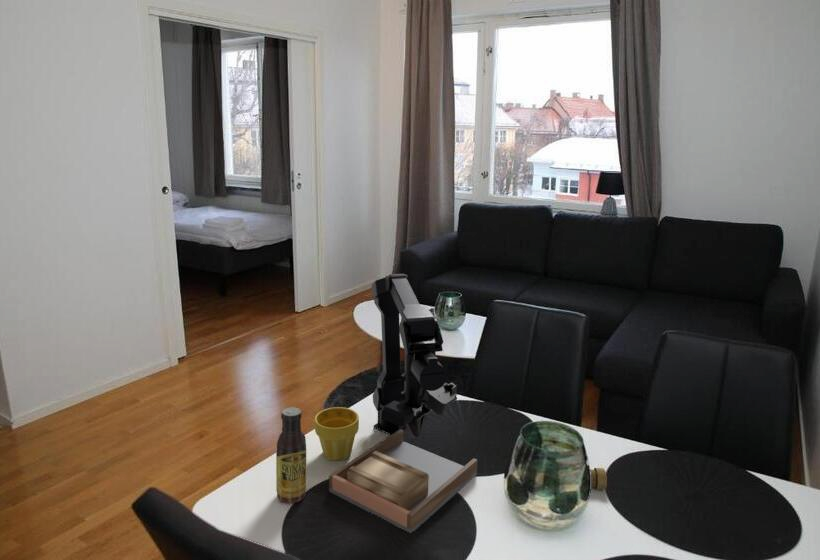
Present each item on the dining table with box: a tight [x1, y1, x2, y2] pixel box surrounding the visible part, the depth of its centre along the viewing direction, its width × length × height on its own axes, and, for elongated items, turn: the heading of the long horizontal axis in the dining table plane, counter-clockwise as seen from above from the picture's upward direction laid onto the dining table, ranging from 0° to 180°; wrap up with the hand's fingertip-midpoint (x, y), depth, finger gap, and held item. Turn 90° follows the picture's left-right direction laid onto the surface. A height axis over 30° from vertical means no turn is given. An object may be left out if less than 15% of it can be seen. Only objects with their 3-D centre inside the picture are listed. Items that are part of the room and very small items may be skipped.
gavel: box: [589, 467, 608, 491], centre depth 139 cm, size 21×5×10 cm
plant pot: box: [313, 406, 360, 462], centre depth 141 cm, size 10×10×10 cm
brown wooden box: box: [347, 451, 429, 510], centre depth 125 cm, size 14×10×5 cm
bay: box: [328, 429, 478, 534], centre depth 131 cm, size 22×25×4 cm
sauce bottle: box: [275, 406, 307, 505], centre depth 123 cm, size 6×6×20 cm
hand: (416, 436), depth 131 cm, fingers closed
